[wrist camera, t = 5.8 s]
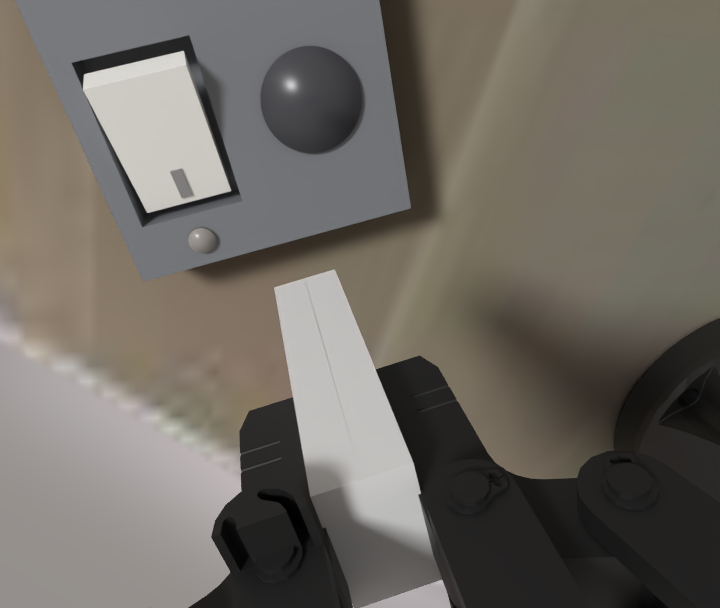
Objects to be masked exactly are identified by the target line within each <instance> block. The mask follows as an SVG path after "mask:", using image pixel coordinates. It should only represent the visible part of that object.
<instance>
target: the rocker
mask: <svg viewBox="0 0 720 608" xmlns="http://www.w3.org/2000/svg"><path fill="white" fill-rule="evenodd" d="M83 91H84V93H85V95H86V97H87V99H88V100H89V102H90V104H91V106H92V108H93V110H94V112H95V114H96V116H97V118H98V120H99V122H100V123H101V125H102V127H103V129H104V131H105V133H106V135H107V137H108V139H109V141H110V143H111V144H112V146H113V148H114V150H115V152H116V154H117V156H118V158H119V160H120V162H121V164H122V166H123V167H124V169H125V171H126V173H127V175H128V177H129V179H130V181H131V183H132V185H133V187H134V188H135V190H136V192H137V194H138V196H139V198H140V200H141V202H142V204H143V206H144V208H145V210H146V211H147V213H150V212H153V211H157V210H161V209H165V208H169V207H173V206H176V205H180V204H184V203H188V202H192V201H195V200H199V199H203V198H207V197H211V196H214V195H218V194H222V193H226V192H230V191H231V187H230V183H229V178H228V174H227V171H226V169H225V166H224V163H223V160H222V157H221V154H220V152H219V149H218V146H217V143H216V140H215V137H214V135H213V132H212V129H211V126H210V123H209V121H208V118H207V115H206V112H205V109H204V106H203V104H202V101H201V98H200V95H199V92H198V89H197V87H196V84H195V81H194V78H193V75H192V72H191V70H190V67H189V64H188V61H187V58H186V56H185V53H184V51H180V52H176V53H172V54H168V55H164V56H159V57H155V58H151V59H147V60H142V61H138V62H134V63H130V64H125V65H121V66H117V67H113V68H109V69H104V70H100V71H96V72H92V73H87V74H84V82H83Z"/></svg>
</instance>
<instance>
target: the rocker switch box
mask: <svg viewBox="0 0 720 608" xmlns="http://www.w3.org/2000/svg"><path fill="white" fill-rule="evenodd" d="M15 2H16V4H17V6H18V8H19V11H20V13H21V15H22V17H23V19H24V22H25V24H26V26H27V28H28V30H29V33H30V35H31V37H32V39H33V41H34V44H35V46H36V48H37V50H38V52H39V55H40V57H41V59H42V61H43V63H44V66H45V68H46V70H47V72H48V74H49V77H50V79H51V81H52V83H53V85H54V88H55V90H56V92H57V94H58V96H59V98H60V101H61V103H62V105H63V107H64V109H65V112H66V114H67V116H68V118H69V120H70V123H71V125H72V127H73V129H74V131H75V134H76V136H77V138H78V140H79V142H80V145H81V147H82V149H83V151H84V153H85V156H86V158H87V160H88V162H89V164H90V167H91V169H92V171H93V173H94V175H95V178H96V180H97V182H98V184H99V186H100V189H101V191H102V193H103V195H104V197H105V200H106V202H107V204H108V206H109V208H110V211H111V213H112V215H113V217H114V219H115V222H116V224H117V226H118V228H119V230H120V233H121V235H122V237H123V239H124V241H125V244H126V246H127V248H128V250H129V252H130V254H131V257H132V259H133V261H134V263H135V265H136V268H137V270H138V272H139V274H140V276H141V279H142V281H143V282H144V281H147V280H151V279H154V278H158V277H162V276H165V275H169V274H173V273H176V272H180V271H184V270H187V269H191V268H195V267H198V266H202V265H206V264H209V263H213V262H217V261H220V260H224V259H228V258H231V257H235V256H239V255H242V254H246V253H250V252H253V251H257V250H260V249H264V248H268V247H271V246H275V245H279V244H282V243H286V242H290V241H293V240H297V239H301V238H304V237H308V236H312V235H315V234H319V233H323V232H326V231H330V230H334V229H337V228H341V227H345V226H348V225H352V224H356V223H359V222H363V221H366V220H370V219H374V218H377V217H381V216H385V215H388V214H392V213H396V212H399V211H403V210H407V209H410V208H411V204H410V198H409V191H408V184H407V178H406V171H405V165H404V158H403V152H402V145H401V139H400V132H399V126H398V119H397V113H396V106H395V99H394V93H393V86H392V80H391V73H390V67H389V60H388V54H387V47H386V41H385V34H384V28H383V21H382V14H381V8H380V1H379V0H15ZM180 51H184V53H185V56H186V58H187V61H188V64H189V67H190V70H191V72H192V75H193V78H194V81H195V84H196V87H197V89H198V92H199V95H200V98H201V101H202V104H203V106H204V109H205V112H206V115H207V118H208V121H209V123H210V126H211V129H212V132H213V135H214V137H215V140H216V143H217V146H218V149H219V152H220V154H221V157H222V160H223V163H224V166H225V169H226V171H227V174H228V178H229V183H230V187H231V191H230V192H226V193H222V194H218V195H214V196H211V197H207V198H203V199H199V200H195V201H192V202H188V203H184V204H180V205H176V206H173V207H169V208H165V209H161V210H157V211H153V212H150V213H147V211H146V210H145V208H144V206H143V204H142V202H141V200H140V198H139V196H138V194H137V192H136V190H135V188H134V187H133V185H132V183H131V181H130V179H129V177H128V175H127V173H126V171H125V169H124V167H123V166H122V164H121V162H120V160H119V158H118V156H117V154H116V152H115V150H114V148H113V146H112V144H111V143H110V141H109V139H108V137H107V135H106V133H105V131H104V129H103V127H102V125H101V123H100V122H99V120H98V118H97V116H96V114H95V112H94V110H93V108H92V106H91V104H90V102H89V100H88V99H87V97H86V95H85V93H84V91H83V82H84V74H87V73H92V72H96V71H100V70H104V69H109V68H113V67H117V66H121V65H125V64H130V63H134V62H138V61H142V60H147V59H151V58H155V57H159V56H164V55H168V54H172V53H176V52H180Z"/></svg>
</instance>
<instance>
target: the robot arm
mask: <svg viewBox="0 0 720 608" xmlns="http://www.w3.org/2000/svg"><path fill="white" fill-rule="evenodd" d="M274 289H275V295H276V301H277V307H278V312H279V318H280V324H281V330H282V336H283V341H284V347H285V353H286V359H287V365H288V370H289V376H290V382H291V388H292V394H293V397H292V398H289V399H286V400H283V401H280V402H277V403H273V404H270V405H267V406H264V407H261V408H258V409H254V410H251V411H249V413H248V415H247V417H246V419H245V421H244V423H243V425H242V428H241V430H240V453H241V456H240V461H241V471H242V473H241V489H242V492H240V493H239V494H238V495H237V496H236V497H235V498H233V499H232V500H231V501H230V502H229V503H227V504H226V505H225V507H224V508H223V510H222V511H221V513H220V514H219V516H218V517H217V519H216V520H215V524H214V528H213V532H212V539H213V541H214V543H215V545H216V546H217V548H218V550H219V552H220V554H221V556H222V557H223V559H224V561H225V563H226V564H227V566H228V568H229V570H230V574H229V575H228V576H227V577H226V579H225V580H224V581H223V582H222V583H221V584H220V585H219V586H218V587H217V588H215V589H214V590H213V591H212V592H210V593H209V594H208V595H207V596H205V597H204V598H202V599H201V600H199V601H198V602H196V603H195V604H193V605H192V606H190V607H189V608H353V607H354V608H360V607H363V606H366V605H369V604H372V603H375V602H378V601H380V600H383V599H386V598H389V597H392V596H395V595H398V594H400V593H404V592H406V591H409V590H412V589H415V588H418V587H421V586H424V585H427V584H430V583H433V582H435V581H438V580H441V579H443V582H444V585H445V587H446V590H447V593H448V596H449V601H450V605H451V608H720V319H718V320H716V321H713V322H711V323H709V324H707V325H705V326H703V327H702V328H700V329H698V330H696V331H695V332H693V333H691V334H690V335H688V336H687V337H685V338H684V339H683V340H681V341H680V342H678V343H677V344H676V345H675V346H673V347H672V348H671V349H670V350H668V351H667V352H666V353H665V354H664V355H663V356H662V357H661V358H659V359H658V360H657V361H656V362H655V363H654V364H653V365H652V367H651V368H650V369H649V370H648V371H647V372H646V373H645V374H644V376H643V377H642V378H641V379H640V381H639V382H638V383H637V385H636V386H635V388H634V389H633V391H632V392H631V394H630V395H629V397H628V399H627V401H626V403H625V404H624V406H623V409H622V411H621V413H620V416H619V419H618V422H617V426H616V430H615V437H614V448H615V451H607V452H605V453H602V454H599V455H597V456H594V457H591V458H590V459H589V460H588V461H587V462H586V463H585V464H584V465H583V466H582V467H581V468H580V471H579V474H578V478H568V479H530V478H525V477H521V476H517V475H515V474H513V473H510V472H508V471H506V470H505V469H504V468H502V467H500V466H499V465H498V464H496V463H495V462H494V461H493V459H492V458H491V457H490V456H489V454H488V453H487V451H486V449H485V448H484V446H483V444H482V442H481V441H480V439H479V437H478V436H477V434H476V432H475V430H474V429H473V427H472V425H471V423H470V422H469V420H468V418H467V417H466V415H465V413H464V411H463V410H462V408H461V406H460V404H459V403H458V402H457V401H456V398H455V396H454V394H453V392H452V391H451V389H450V387H448V384H447V382H446V380H445V379H444V377H443V375H442V373H441V372H440V370H439V368H438V367H437V366H435V365H434V364H432V363H430V362H429V361H427V360H426V359H424V358H422V357H421V356H417V357H414V358H411V359H407V360H404V361H401V362H398V363H395V364H392V365H388V366H385V367H382V368H379V369H376V370H375V367H374V365H373V362H372V360H371V357H370V355H369V353H368V350H367V348H366V345H365V343H364V340H363V338H362V335H361V333H360V330H359V328H358V325H357V323H356V321H355V318H354V316H353V313H352V311H351V308H350V306H349V303H348V301H347V298H346V296H345V294H344V291H343V289H342V286H341V284H340V281H339V279H338V276H337V274H336V271H335V269H334V270H331V271H328V272H324V273H321V274H318V275H314V276H311V277H308V278H304V279H301V280H298V281H294V282H291V283H288V284H284V285H281V286H278V287H274ZM352 604H353V606H352Z"/></svg>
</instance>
